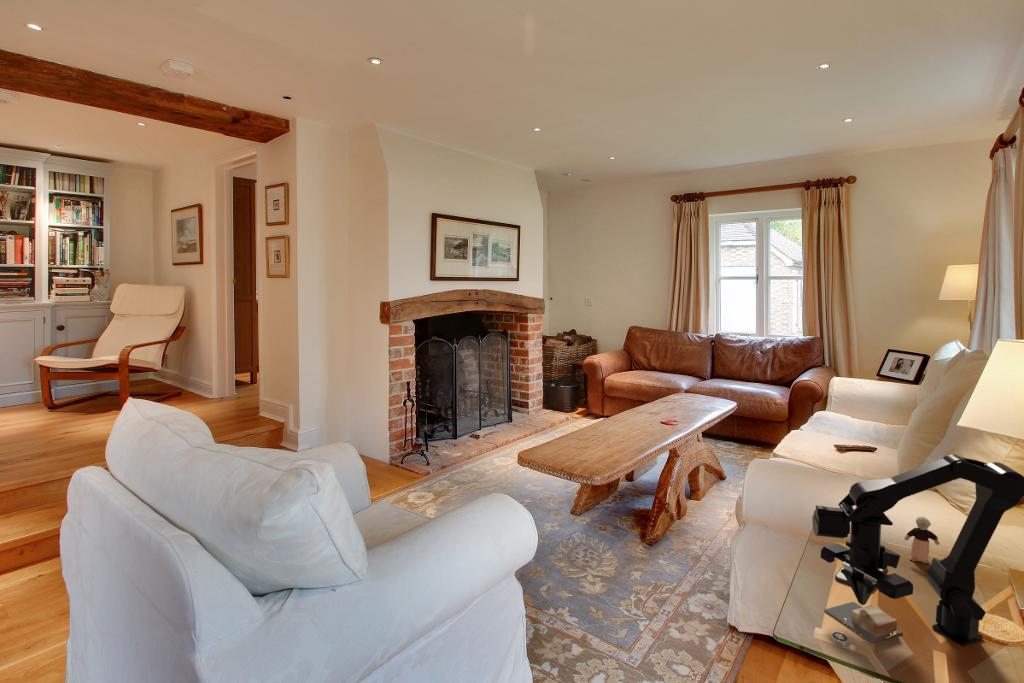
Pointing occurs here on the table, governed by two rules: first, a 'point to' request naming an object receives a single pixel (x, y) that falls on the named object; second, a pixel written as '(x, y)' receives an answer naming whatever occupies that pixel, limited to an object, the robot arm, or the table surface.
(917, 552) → the grandmother figurine
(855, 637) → the table surface
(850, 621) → the felt mat
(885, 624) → the birch block
